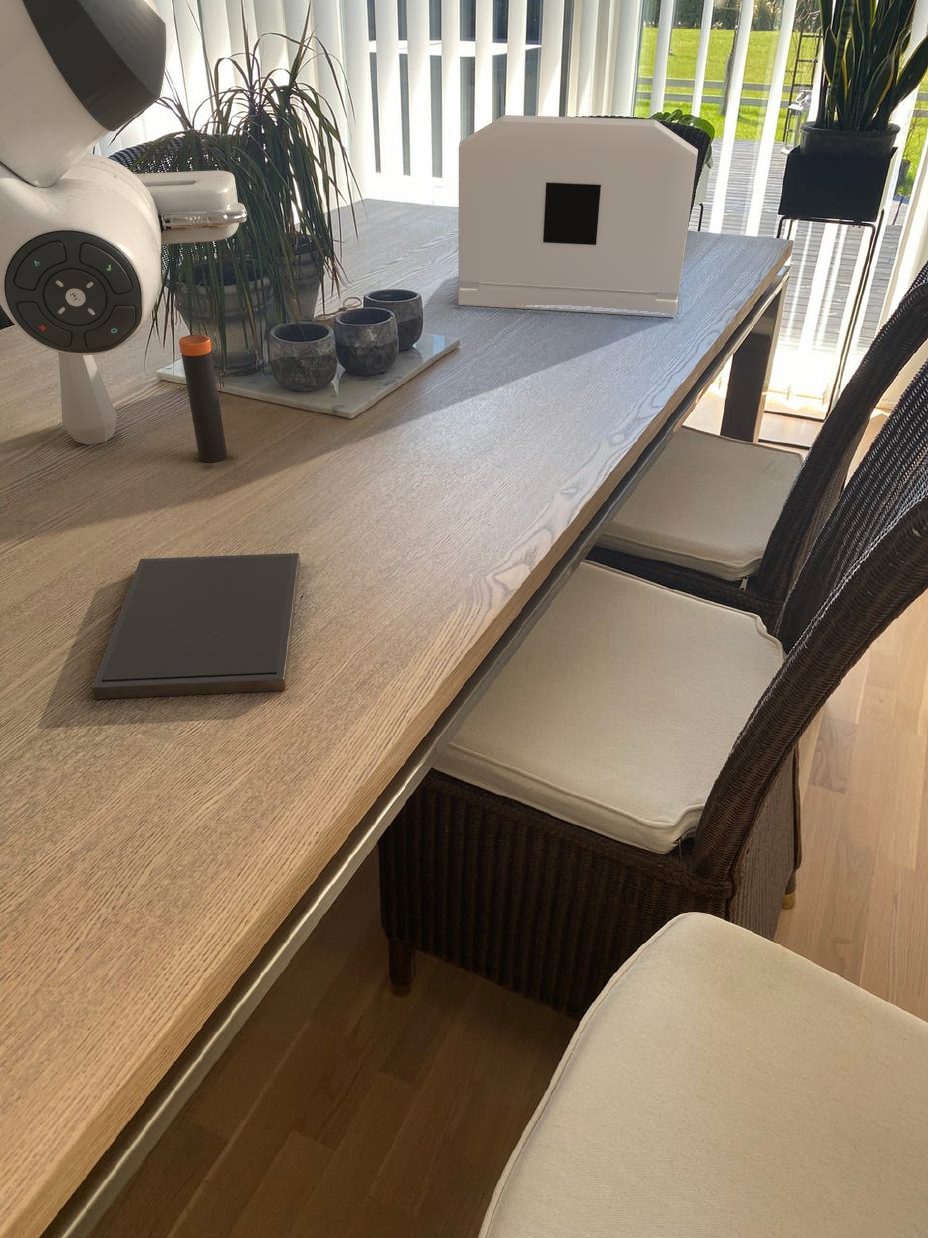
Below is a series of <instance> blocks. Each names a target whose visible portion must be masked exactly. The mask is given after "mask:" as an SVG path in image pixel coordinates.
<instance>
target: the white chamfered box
mask: <svg viewBox="0 0 928 1238" xmlns="http://www.w3.org/2000/svg"><path fill="white" fill-rule="evenodd" d="M698 155H699V149H698V148H696V147H695V146H694V145H692V144H690V143H689V141H688V142H687V141H686V140H685V139H684V138H682V137H680V136H679V135H678V134H676V133H675V132H673V131H672V130H671V129H669V128H668V127H666V126H665V125H663V124H662V123H661V122H660V121H658V120H656V119H651V118H650V119H648V118H647V119H645V118H615V117H613V118H612V117H611V118H610V117H584V116H583V117H582V116H580V117H579V116H552V115H551V116H549V115H548V116H547V115H545V116H544V115H542V116H541V115H520V114H519V115H515V114H504V115H502V116H500V117H498V118H497V119H495V120H493V121H492V122H490V123H489V124H486V125H485V126H483V127H482V128H480V129H479V130H477V131H475V132H473V133H471V134H470V135H469V136H466V137H465V138H464V139H462V140H460V141H459V145H458V282H459V288H458V305H459V306H468V307H469V306H470V307H487V308H504V309H522V310H537V311H551V312H552V311H554V312H570V313H585V314H586V313H589V314H605V315H622V316H637V317H639V316H640V317H656V318H676V316H677V311H678V294H680V290H681V284H682V283H681V282H682V275H683V268H684V259H685V252H686V244H687V237H688V229H689V222H690V216H691V207H692V200H693V192H694V187H695V185H694V184H695V178H696V171H697V162H698ZM517 305H518V306H517ZM521 305H523V306H521ZM526 305H573V306H591V307H603V308H615V309H628V310H638V311H648V312H660V313H669V314H676V315H661V314H644V313H627V312H610V311H593V310H576V309H559V308H542V307H525V306H526Z"/></svg>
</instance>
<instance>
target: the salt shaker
mask: <svg viewBox="0 0 928 1238" xmlns="http://www.w3.org/2000/svg"><path fill="white" fill-rule="evenodd" d="M58 366H59V380H60V381H59V382H60V383H59V384H60V404H61V405H60V406H61V421H62V426H63V427H64V429H65V430H66V431H67V432H68V434H69V435H70V436H71V438H73V440H74V441H75V442H76V443H80V444H82V445H87V446H91V445H96V444H102V443H106V442H107V441H109V440H110V439H111V438H113V437H114V435H115V431H116V426H117V421H118V415H117V412H116V410H115V407H114V405H113V402H112V400H111V397H110V395H109V393H108V391H107V388H106V385H105V383H104V380H103V378H102V376H101V373H100V370H99V368H98V366H97V363H96V361H95V359H94V355H71V354H66V353H61V352H58Z"/></svg>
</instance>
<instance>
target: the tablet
mask: <svg viewBox="0 0 928 1238" xmlns="http://www.w3.org/2000/svg"><path fill="white" fill-rule="evenodd" d="M300 557H301V556H300V553H299V552H289V553H288V552H287V553H264V554H262V553H261V554H260V553H259V554H236V555H235V554H234V555H210V556H207V555H206V556H181V557H179V556H177V557H154V558H153V557H152V558H140V559H139V562H138V564H137V566H136V570H135V572H134V574H133V577H132V580H131V582H130V585H129V587H128V590H127V593H126V595H125V598H124V601H123V604H122V606H121V609H120V611H119V614H118V617H117V619H116V622H115V625H114V627H113V630H112V632H111V634H110V638H109V641H108V643H107V646H106V649H105V650H104V654H103V657H102V659H101V661H100V664H99V667H98V669H97V672H96V675H95V677H94V680H93V683H92V685H91V691H92V693H93V694H92V695H93V697H94V699H95V700H111V699H133V698H135V699H137V698H154V697H155V698H156V697H157V698H158V697H177V696H178V697H179V696H197V695H219V694H222V695H223V694H239V693H240V694H241V693H263V692H284V691H287V690H286V689H287V681H288V674H289V673H288V672H289V664H290V656H291V646H292V639H293V629H294V623H295V621H294V620H295V612H296V603H297V595H298V586H299V578H300V570H301V558H300Z"/></svg>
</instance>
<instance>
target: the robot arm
mask: <svg viewBox="0 0 928 1238" xmlns="http://www.w3.org/2000/svg"><path fill="white" fill-rule="evenodd" d="M166 61H167V24H166V22H165V21H164V20H163V19H162V17H161V14H160V12H159V9H158V7H157V5H156V3H155V1H154V0H0V307H1V309H2V310H3V311H4V313H5V314H6V316H7V317H8V318H9V319H10V321H11V322H12V323H13V324H14V325H15V326H16V327H17V328H18V329H19V330H20V331H21V332H22V333H23V334H24V335H25V336H27V338H29V339H31V340H32V341H33V342H35V343H37V344H38V345H39V346H42V347H44V348H45V349H49V350H51V351H55V352H57V353H59V352H61V353H66V354H71V355H92V356H95V355H99V354H105V353H108V352H110V351H114V350H116V349H118V348H120V347H122V346H124V345H126V344H127V343H129V342H130V341H131V340H132V339H133V338H136V336H137V335H138V334H139V333H140V332H141V331H142V329H143V328H144V327H145V325H146V323H147V322H148V320H149V318H150V316H151V314H152V312H153V310H154V307H155V306H156V302H157V299H158V296H159V292H160V288H161V287H160V286H161V277H162V260H161V255H162V245H173V244H190V243H206V242H207V243H208V242H216V241H222V240H226V239H229V238H231V237H232V236H234V235H235V234H236V232H237V231H238V228H239V226H240V224H243V223H246V221H247V217H248V211H247V209H246V207H245V205H244V204H243V203H241V202H239V199H238V192H237V185H236V178H235V174H233V173H232V172H230V171H226V170H218V169H217V170H194V171H193V170H192V171H172V172H170V171H169V172H149V173H134V172H132V171H131V170H130V169H129V168H127V166H124V165H123V164H121V163H119V162H117V161H115V160H113V159H111V158H109V157H107V156H103V155H99V154H95V153H89V152H90V151H91V150H92V149H94V147H96V145H98V144H99V143H100V142H101V141H102V140H104V138H105V137H106V136H107V135H108V134H109V133H110V132H112V133H113V132H116V131H118V130H119V129H120V128H121V127H123V126H124V125H125V124H127V123H128V122H129V121H131V120H132V119H133V118H134V117H136V116H137V115H138V114H140V113H142V112H143V111H144V110H145V109H146V108H148V107H149V106H150V105H152V104H153V103H155V101H156V100H158V99H159V98H161V96H162V95H161V94H162V90H163V84H164V78H165V71H166Z"/></svg>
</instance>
